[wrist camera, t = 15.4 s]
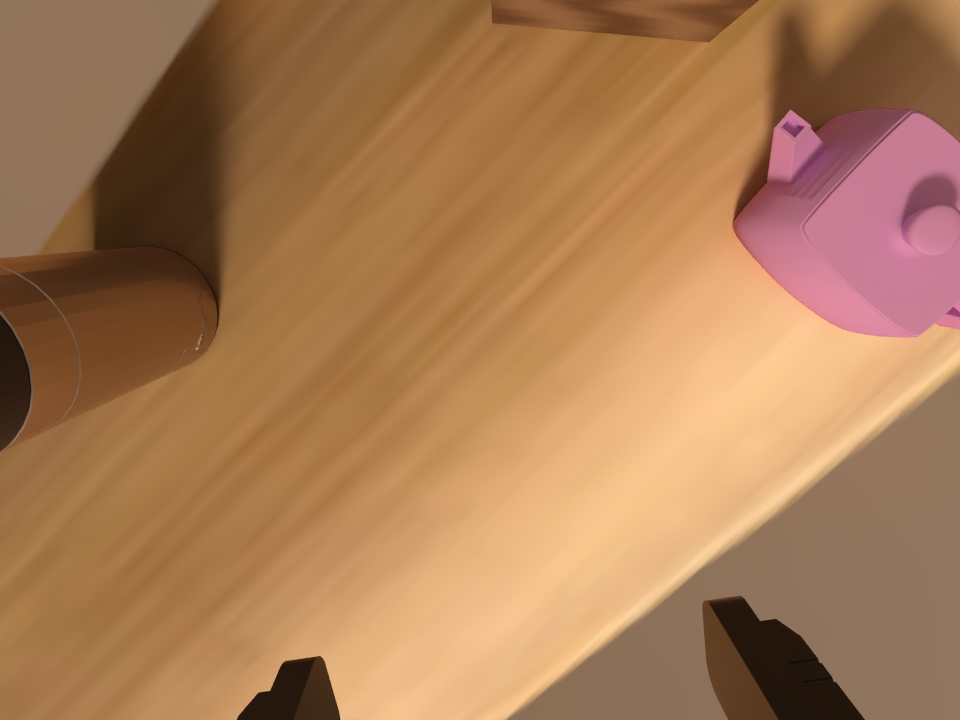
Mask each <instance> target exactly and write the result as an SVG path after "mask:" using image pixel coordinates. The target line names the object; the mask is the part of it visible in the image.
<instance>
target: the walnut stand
mask: <svg viewBox="0 0 960 720" xmlns="http://www.w3.org/2000/svg"><path fill="white" fill-rule="evenodd" d="M757 1H758V0H491V3H492V23H498V24H510V25H521V26H532V27H543V28H555V29H566V30H577V31H589V32H600V33H611V34H622V35H634V36H645V37H656V38H667V39H679V40H690V41H701V42H710V41H711V40H712V39H713V38H715V37H716V36H717V35H718V34H719V33H720V32H722V31H723V30H724V29H725V28H726V27H728V26H729V25H730V24H731V23H732V22H733V21H735V20H736V19H737V18H738V17H739V16H741V15H742V14H743V13H744V12H745V11H746V10H748V9H749V8H750V7H751V6H752V5H754V4H755V3H756V2H757Z"/></svg>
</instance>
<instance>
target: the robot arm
mask: <svg viewBox="0 0 960 720" xmlns="http://www.w3.org/2000/svg"><path fill="white" fill-rule="evenodd" d="M217 317H218V315H217V307H216V301H215V299H214V296H213V293H212V290H211V288H210V286H209V285H208V283H207V281H206V279H205V278H204V276H203V275H202V274H201V273H200V272H199V271H198V269H197V268H196V267H195V266H194V265H192V264H191V263H190V262H189V261H187V260H186V259H185V258H183V257H181V256H179V255H178V254H176V253H174V252H172V251H169V250H165V249H162V248H158V247H133V248H121V249H106V250H93V251H81V252H69V253H57V254H44V255H32V256H20V257H9V258H0V453H1V452H3V451H5V450H7V449H9V448H11V447H14V446H16V445H18V444H20V443H22V442H24V441H26V440H28V439H31V438H33V437H35V436H37V435H39V434H41V433H43V432H45V431H47V430H49V429H51V428H53V427H56V426H58V425H60V424H62V423H64V422H66V421H69V420H71V419H73V418H75V417H77V416H79V415H81V414H84V413H86V412H88V411H90V410H92V409H94V408H96V407H99V406H101V405H103V404H105V403H107V402H109V401H111V400H114V399H116V398H118V397H120V396H122V395H124V394H127V393H129V392H131V391H133V390H135V389H137V388H139V387H142V386H144V385H146V384H148V383H150V382H152V381H154V380H157V379H159V378H161V377H163V376H165V375H168V374H170V373H172V372H174V371H176V370H178V369H180V368H182V367H185V366H187V365H189V364H190V363H192V362H194V361H195V360H197V359H198V358H199V357H200V356H201V355H202V354H203V353H204V352H205V351H206V350H207V349H208V347H209V346H210V344H211V342H212V341H213V338H214V335H215V332H216V328H217ZM703 621H704V636H705V647H706V661H707V667H708V672H709V676H710V680H711V683H712V686H713V689H714V691H715V694H716V696H717V698H718V700H719V702H720V704H721V706H722V708H723V710H724V712H725V714H726V716H727V718H728V720H865V719H864V718H863V717H862V715H861V714H860V713H859V712H858V710H857V709H856V708H855V706H854V705H853V704H852V702H851V701H850V700H849V699H848V697H847V696H846V695H845V693H844V692H843V691H842V689H841V688H840V687H839V685H838V684H837V683H836V682H834V681H833V679H832V676H831V675H830V674H829V672H828V671H827V670H826V668H825V667H824V666H823V665H822V663H819V661H818V658H817V657H816V655H815V654H814V653H813V652H812V650H811V649H810V648H809V646H808V645H807V644H806V642H805V641H804V640H803V639H802V637H801V636H800V635H798V634H796V633H795V632H794V631H792V630H791V629H790V628H788V627H787V626H785V625H784V624H782V623H781V622H779V621H778V620H777V619H772V620H765V621H759V619H758V618H757V616H756V615H755V613H754V612H753V610H752V609H751V607H750V606H749V605H748V603H747V602H746V600H745V599H744V598H742V597H741V596H735V597H728V598H721V599H714V600H708V601H704V602H703ZM237 720H340V715H339V710H338V707H337V703H336V700H335V696H334V693H333V689H332V686H331V682H330V679H329V675H328V672H327V668H326V665H325V662H324V660H323V658H322V657H321V656H317V657H311V658H304V659H297V660H290V661H285V662H284V663H283V664H282V665H281V667H280V669H279V671H278V674H277V676H276V679H275V681H274V683H273V686H272V688H271V690H270V691H267V692H260V693H258V694H257V695H256V696H255V697H254V699H253V700H252V701H251V702H250V703H249V704H248V705H247V707H246V708H245V709H244V710H243V711H242V712H241V714H240V715H239V716H238V718H237Z"/></svg>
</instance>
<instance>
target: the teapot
mask: <svg viewBox="0 0 960 720" xmlns="http://www.w3.org/2000/svg"><path fill="white" fill-rule="evenodd" d="M811 127H812V126H811V125H810V124H809V123H807V122H806V121H805V120H804V119H802V118H801V117H800V116H798V115H797V114H796V113H795V112H793V111H792V110H790V111H789V112H788V113H787V114H786V115H785V116H784V117H783V118H782V120H781V121H780V122H779V123H778V124H777V125H776V126H775V127H774V131H773V138H772V146H771V153H770V161H769V168H768V176H767V182H766V183H765V185H764V186H763V187H762V188H761V189H760V190H759V191H758V192H757V194H756V195H755V196H754V197H753V198H752V199H751V200H750V202H749V203H748V204H747V205H746V206H745V207H744V209H743V210H742V211H741V212H740V214H739V215H738V216H737V217H736V219H735V221H734V222H733V229H734V232H735V234H736V236H737V238H738V239H739V240H740V242H741V243H742V244H743V245H744V247H745V248H746V249H747V250H748V251H749V253H750V254H751V255H752V256H753V257H754V258H755V259H756V261H757V262H758V263H759V264H760V265H761V266H762V267H763V268H764V269H765V270H766V272H767V273H768V274H769V275H770V276H771V277H772V278H773V279H774V280H775V281H776V282H777V283H778V284H779V285H780V286H782V287H783V288H784V289H785V290H786V291H787V292H788V293H789V294H791V295H792V296H793V297H794V298H796V299H797V300H798V301H799V302H801V303H802V304H803V305H805V306H806V307H807V308H809V309H810V310H811V311H813V312H814V313H816V314H817V315H819V316H820V317H821V318H823V319H825V320H826V321H828V322H829V323H831V324H833V325H835V326H837V327H839V328H841V329H844V330H847V331H851V332H855V333H861V334H867V335H873V336H883V337H918V336H919V335H921V334H922V333H924V332H925V331H926V330H927V329H929V328H930V327H931V326H932V325H933V324H935V323H937V324H938V325H939V326H944V327H949V328H954V329H960V142H959V141H958V140H957V139H956V138H954V137H953V136H952V135H951V134H950V133H949V132H948V131H946V130H945V129H944V128H943V127H942V126H941V125H939V124H938V123H937V122H936V121H934V120H933V119H931V118H930V117H929V116H927V115H926V114H924V113H922V112H920V111H917V110H909V109H867V110H860V111H854V112H849V113H845V114H841V115H838V116H835V117H834V118H832V119H831V120H829V121H828V122H827V123H825V124H824V125H823V126H821V127H820V128H819V129H818V130H817V131H816V132H814V131H813V130H812V129H811Z"/></svg>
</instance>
